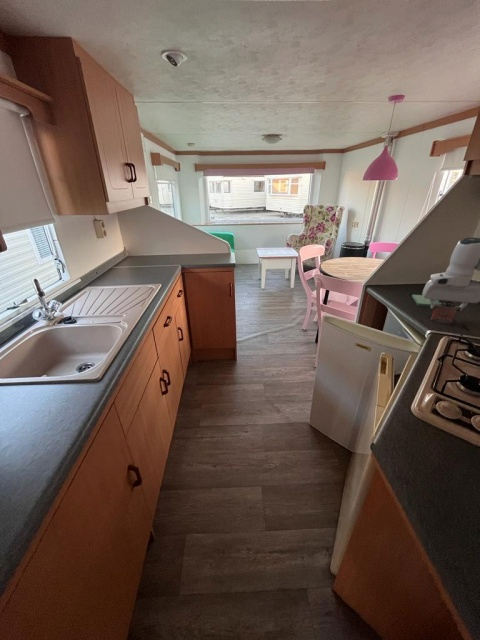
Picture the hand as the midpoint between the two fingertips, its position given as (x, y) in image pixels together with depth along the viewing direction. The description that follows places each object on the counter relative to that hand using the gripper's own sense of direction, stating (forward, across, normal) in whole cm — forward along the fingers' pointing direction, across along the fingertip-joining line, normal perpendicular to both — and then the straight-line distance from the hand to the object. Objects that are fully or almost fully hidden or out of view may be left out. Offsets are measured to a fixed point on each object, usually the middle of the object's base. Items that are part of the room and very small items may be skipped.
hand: (445, 309), depth 115 cm
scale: (+6, -2, -22) cm, 23 cm away
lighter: (+6, 0, 0) cm, 6 cm away
